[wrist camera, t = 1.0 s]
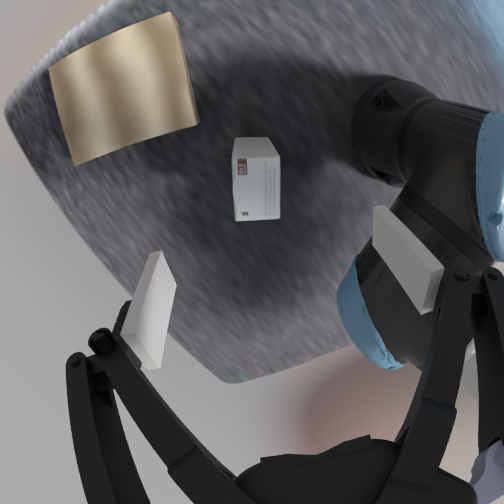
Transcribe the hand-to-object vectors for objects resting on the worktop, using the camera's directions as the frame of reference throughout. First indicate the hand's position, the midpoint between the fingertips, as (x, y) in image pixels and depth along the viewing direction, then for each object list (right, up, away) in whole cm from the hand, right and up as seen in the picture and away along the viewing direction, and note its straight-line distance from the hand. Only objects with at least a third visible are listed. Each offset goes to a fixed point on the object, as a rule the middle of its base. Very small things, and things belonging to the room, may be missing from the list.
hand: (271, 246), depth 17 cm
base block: (-16, +20, +11) cm, 28 cm away
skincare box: (-1, +11, +17) cm, 21 cm away
